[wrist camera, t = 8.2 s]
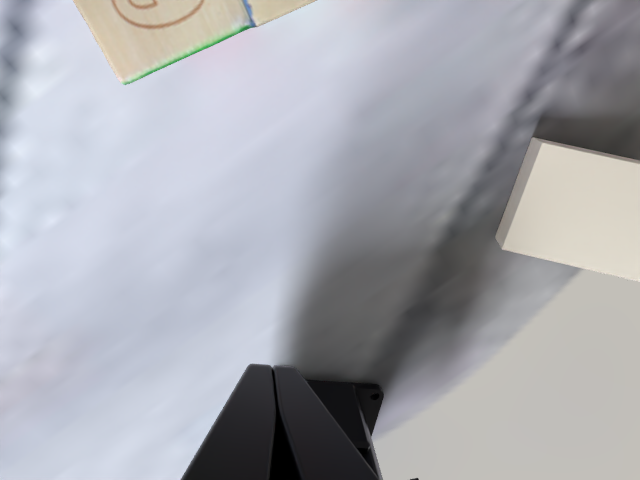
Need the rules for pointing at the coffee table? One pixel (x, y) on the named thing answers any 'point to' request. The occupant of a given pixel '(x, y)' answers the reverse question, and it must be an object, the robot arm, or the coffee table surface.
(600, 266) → the domino
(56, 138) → the coffee table surface
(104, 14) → the stack of blocks
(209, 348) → the coffee table surface
